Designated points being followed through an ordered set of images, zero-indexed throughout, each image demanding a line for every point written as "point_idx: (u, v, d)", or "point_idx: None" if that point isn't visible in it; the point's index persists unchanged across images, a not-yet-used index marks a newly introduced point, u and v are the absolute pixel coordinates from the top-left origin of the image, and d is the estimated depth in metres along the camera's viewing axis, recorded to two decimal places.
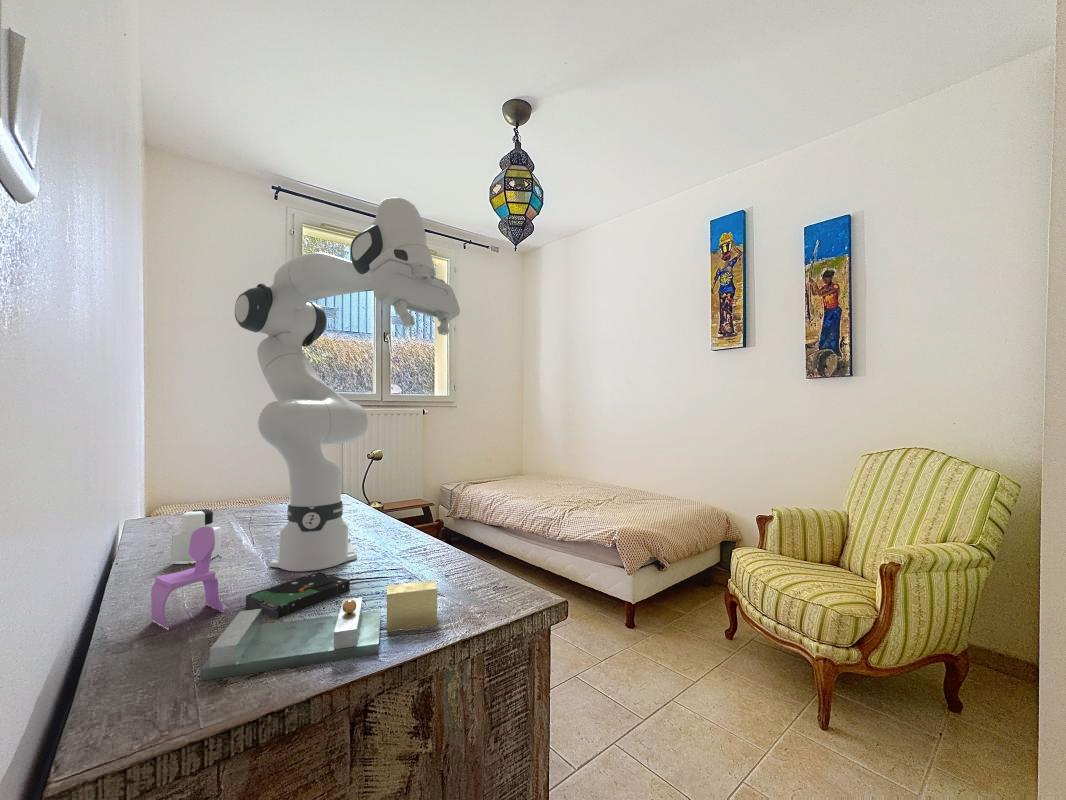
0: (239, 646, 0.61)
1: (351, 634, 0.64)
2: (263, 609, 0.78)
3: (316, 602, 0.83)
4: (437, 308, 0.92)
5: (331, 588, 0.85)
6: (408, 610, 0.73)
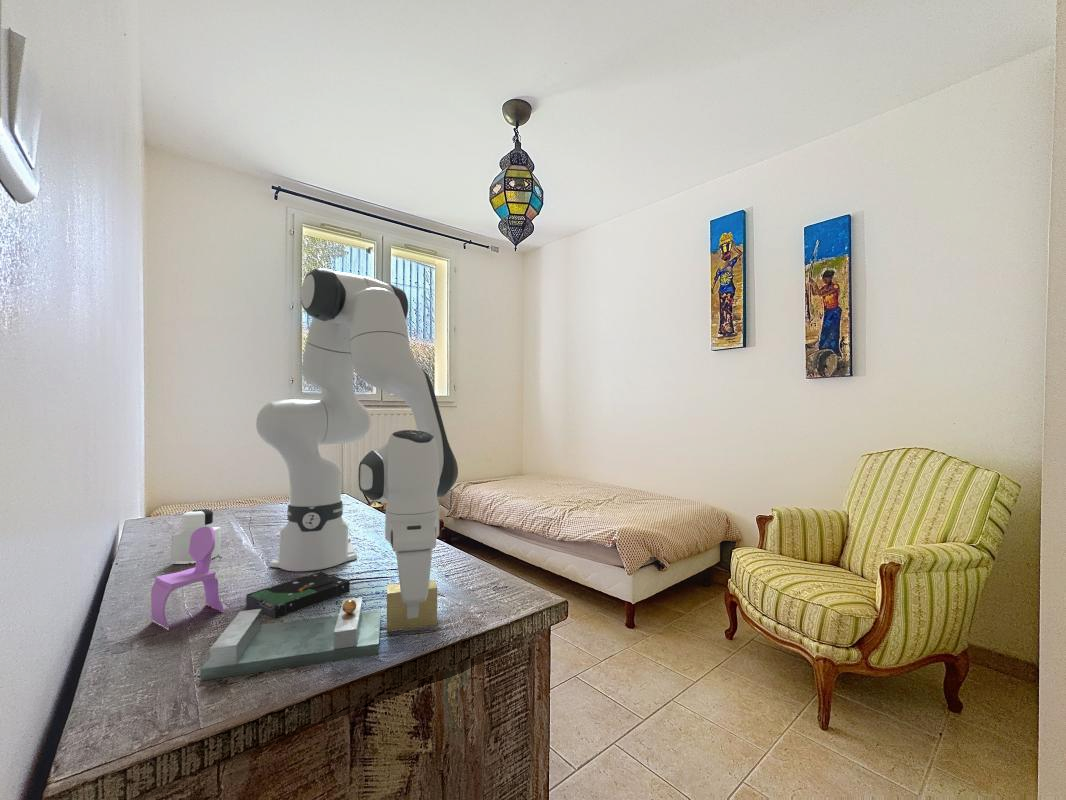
0: (239, 646, 0.61)
1: (351, 634, 0.64)
2: (261, 608, 0.79)
3: (315, 602, 0.82)
4: None
5: (330, 588, 0.85)
6: None
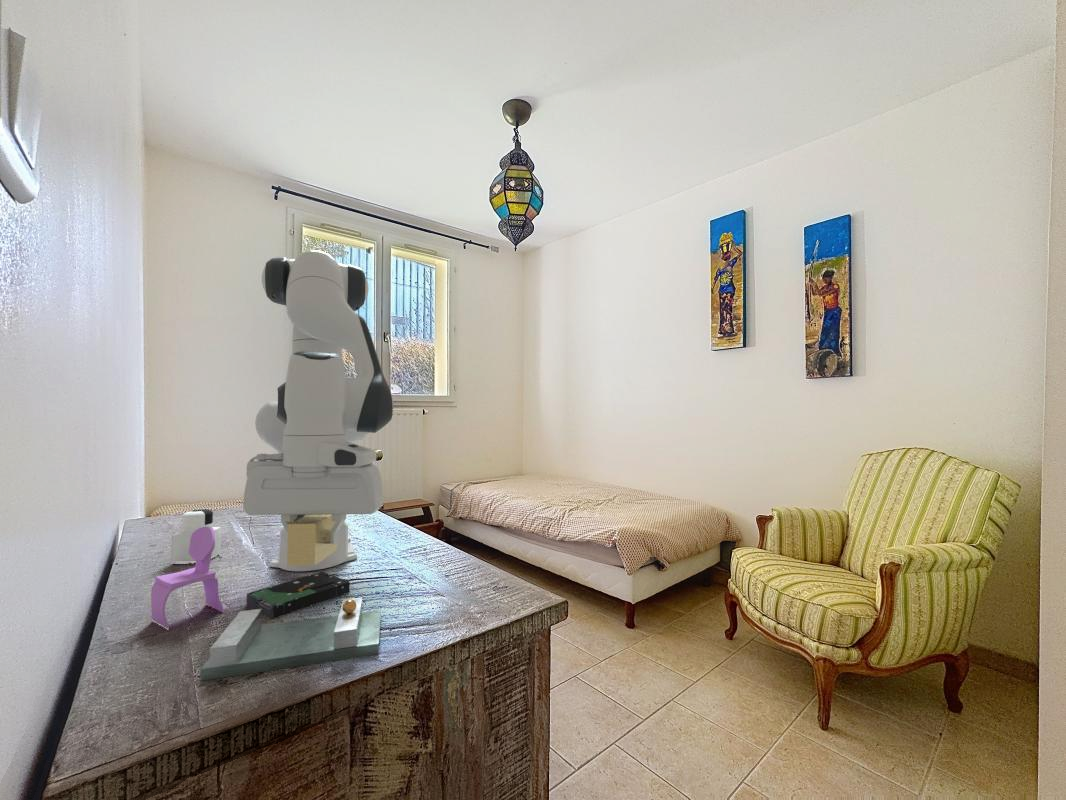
0: (239, 646, 0.61)
1: (351, 634, 0.64)
2: (261, 608, 0.79)
3: (314, 602, 0.82)
4: None
5: (330, 589, 0.85)
6: None
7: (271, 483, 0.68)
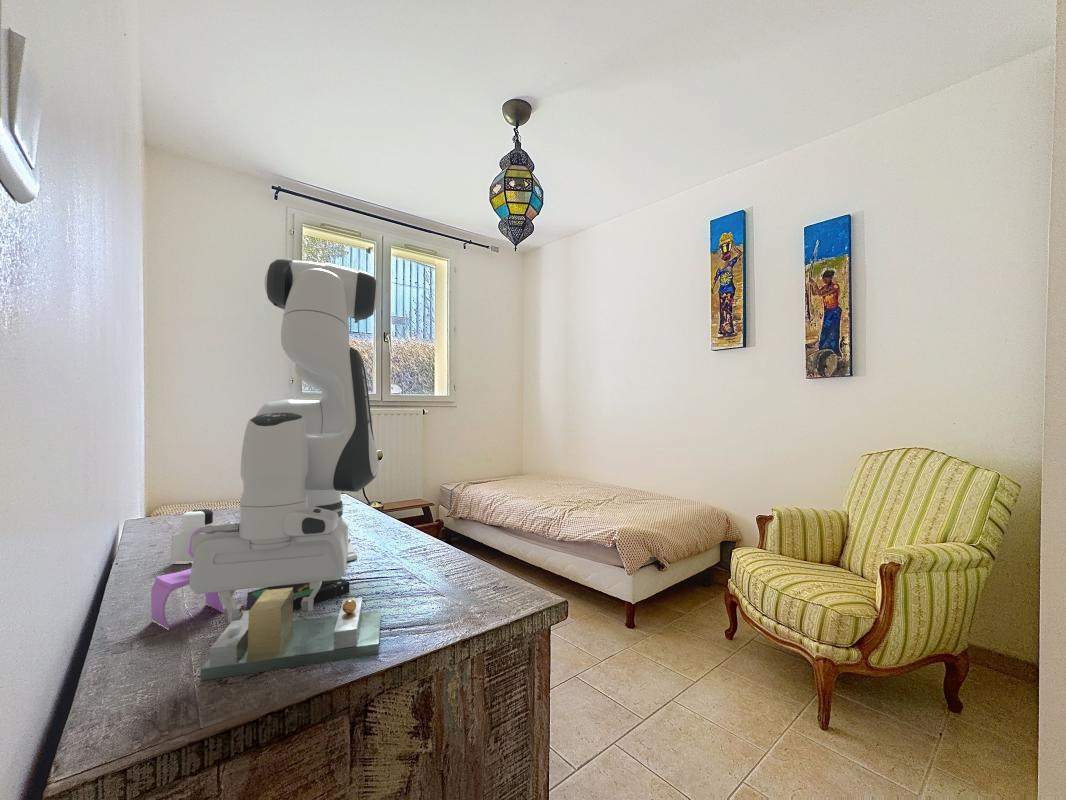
0: (239, 646, 0.61)
1: (351, 634, 0.64)
2: None
3: None
4: None
5: (329, 589, 0.85)
6: (286, 619, 0.66)
7: (225, 557, 0.63)
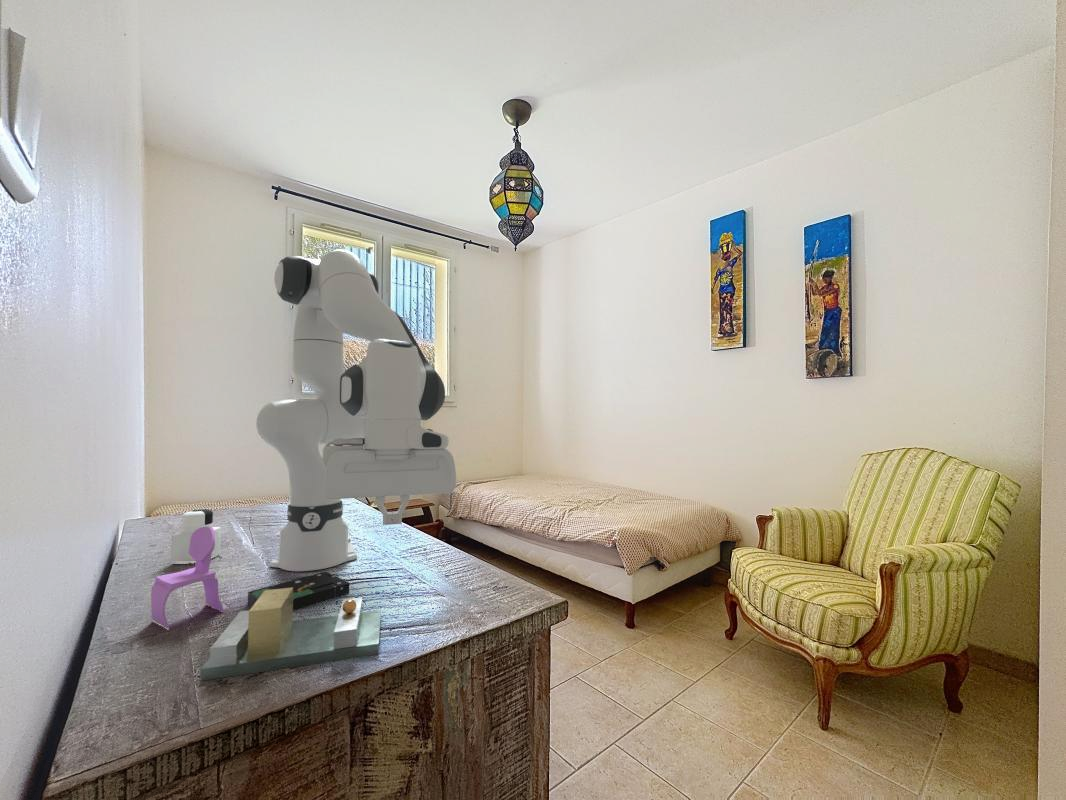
0: (239, 646, 0.61)
1: (351, 634, 0.64)
2: None
3: (311, 603, 0.82)
4: None
5: (328, 589, 0.85)
6: (286, 619, 0.66)
7: (353, 467, 0.69)
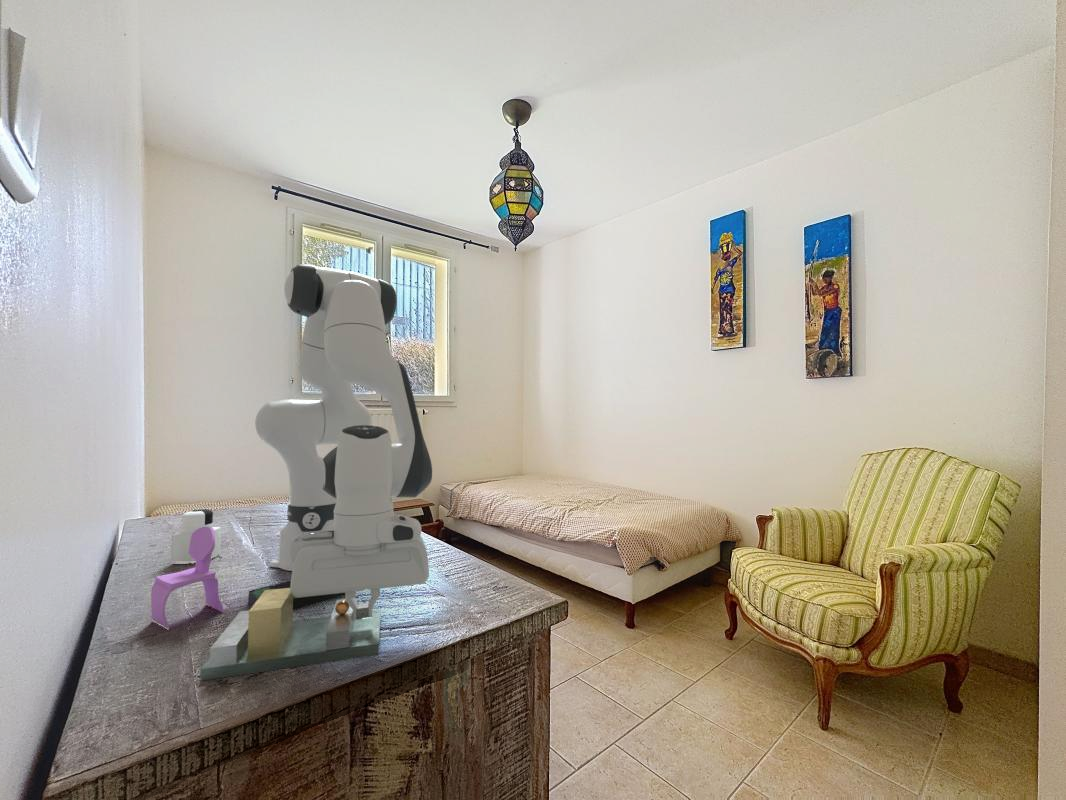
0: (239, 646, 0.61)
1: (343, 635, 0.63)
2: None
3: (310, 603, 0.82)
4: None
5: None
6: (286, 619, 0.66)
7: (322, 563, 0.67)
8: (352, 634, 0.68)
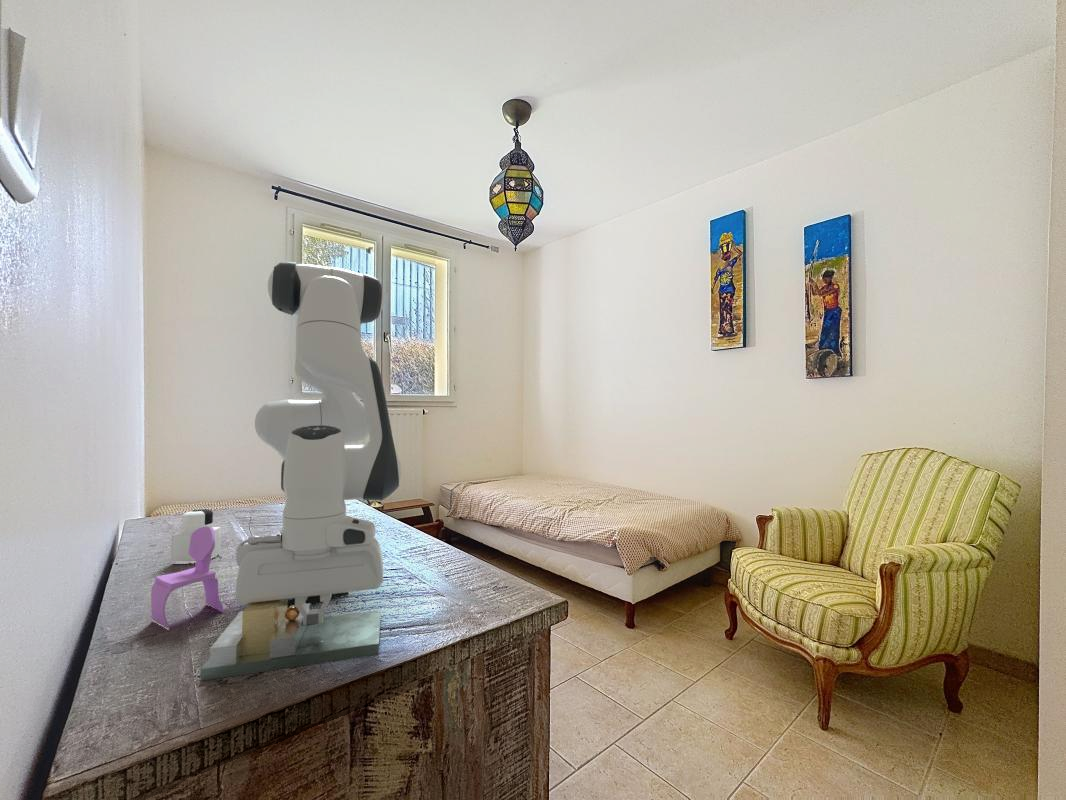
0: (239, 646, 0.61)
1: (288, 642, 0.61)
2: None
3: None
4: None
5: None
6: (280, 620, 0.66)
7: (269, 568, 0.65)
8: (352, 634, 0.68)
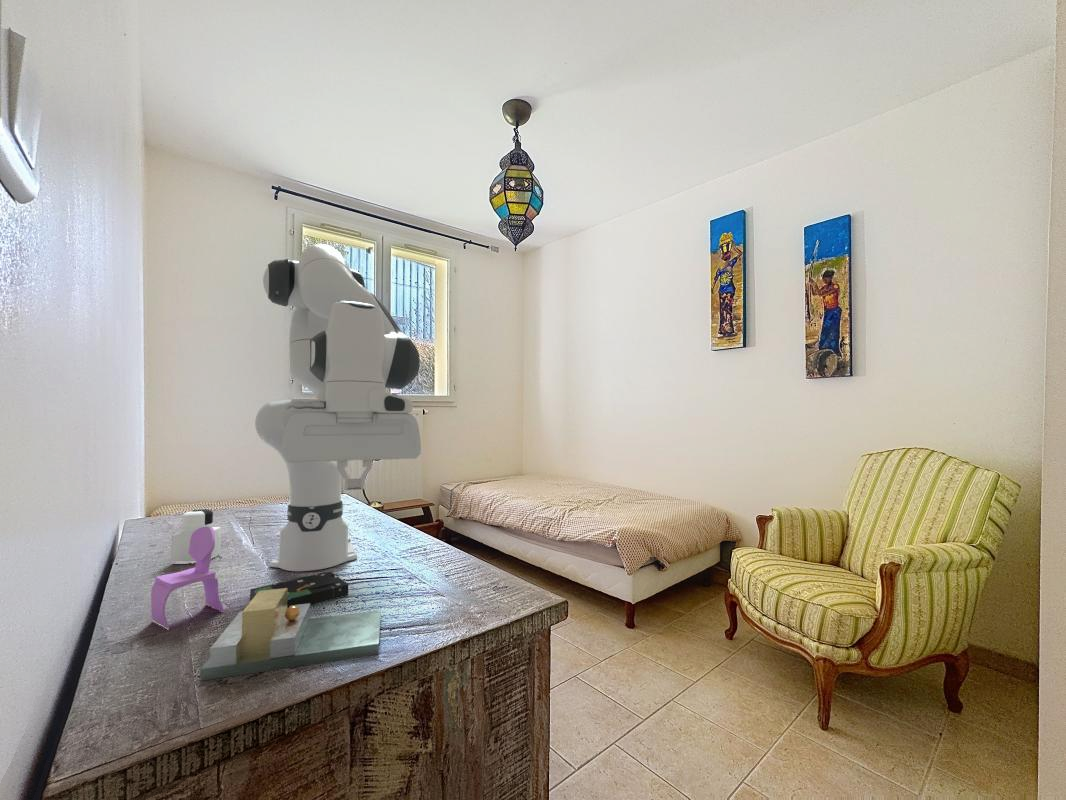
0: (239, 646, 0.61)
1: (288, 642, 0.61)
2: None
3: None
4: None
5: (326, 591, 0.84)
6: (280, 620, 0.66)
7: (314, 430, 0.68)
8: (352, 634, 0.68)
